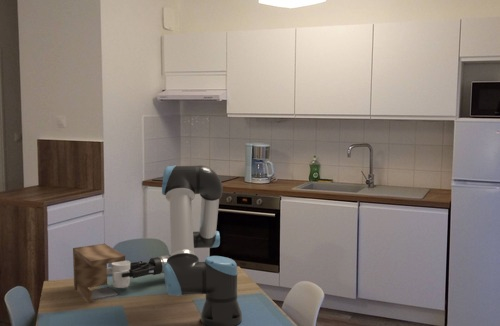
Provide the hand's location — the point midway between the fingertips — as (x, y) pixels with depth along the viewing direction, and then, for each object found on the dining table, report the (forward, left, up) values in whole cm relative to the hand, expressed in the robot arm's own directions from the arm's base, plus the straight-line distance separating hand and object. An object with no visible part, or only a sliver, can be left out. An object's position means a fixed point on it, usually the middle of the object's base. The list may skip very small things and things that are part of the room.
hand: (110, 273), depth 234 cm
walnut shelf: (-2, +5, -8) cm, 9 cm away
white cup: (+2, -4, -6) cm, 8 cm away
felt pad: (-3, +4, -8) cm, 9 cm away
